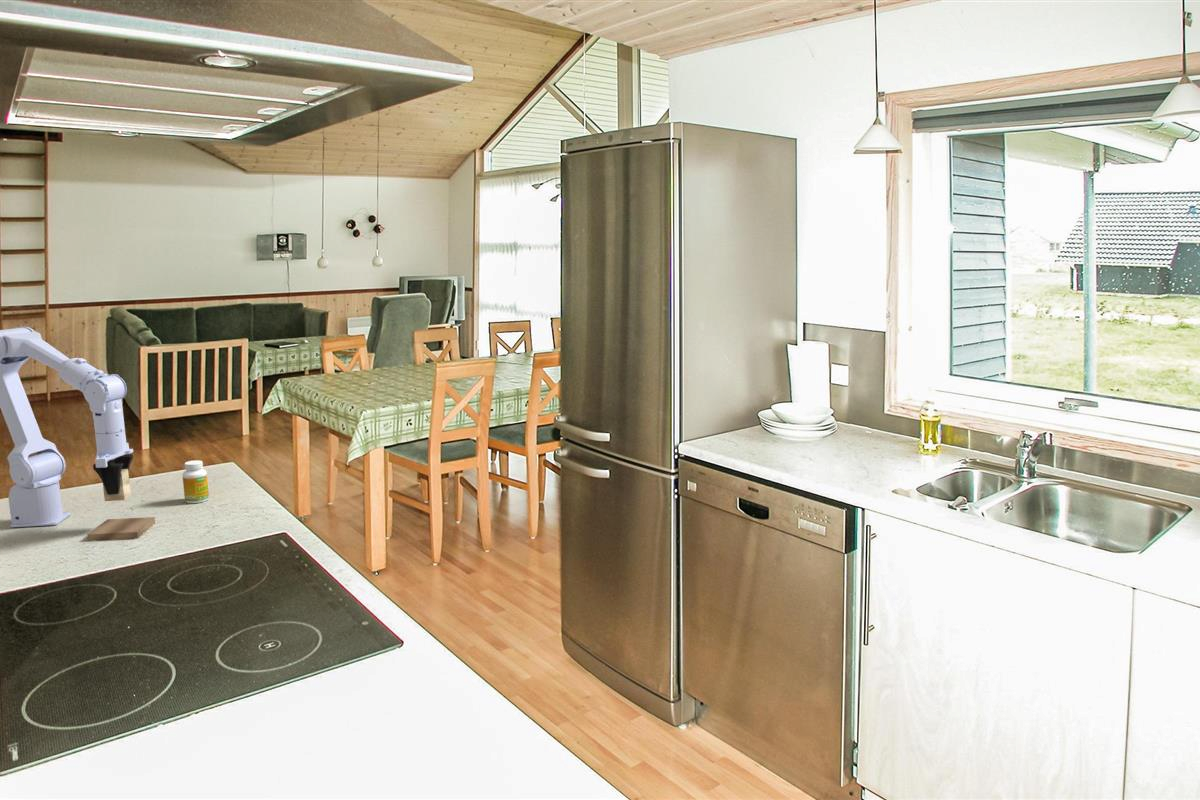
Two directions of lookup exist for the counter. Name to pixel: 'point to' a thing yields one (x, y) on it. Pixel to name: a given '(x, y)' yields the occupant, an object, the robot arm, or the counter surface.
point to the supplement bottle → (195, 482)
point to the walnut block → (121, 528)
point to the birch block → (124, 488)
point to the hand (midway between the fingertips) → (117, 490)
